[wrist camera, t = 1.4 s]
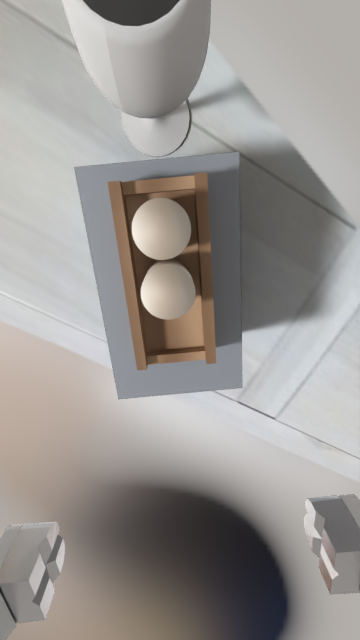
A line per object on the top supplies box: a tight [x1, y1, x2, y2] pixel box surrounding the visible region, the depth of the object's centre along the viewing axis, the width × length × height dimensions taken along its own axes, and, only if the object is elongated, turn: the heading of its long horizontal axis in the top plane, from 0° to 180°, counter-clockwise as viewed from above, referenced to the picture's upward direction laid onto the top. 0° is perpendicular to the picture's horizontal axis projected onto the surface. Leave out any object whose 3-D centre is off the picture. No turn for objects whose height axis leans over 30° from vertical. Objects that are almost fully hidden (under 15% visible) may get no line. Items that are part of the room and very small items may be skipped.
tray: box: [108, 172, 216, 371], centre depth 21 cm, size 6×14×5 cm, turn 5°
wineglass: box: [62, 0, 211, 157], centre depth 20 cm, size 8×8×21 cm
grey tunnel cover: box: [74, 152, 242, 399], centre depth 30 cm, size 20×12×12 cm, turn 5°
